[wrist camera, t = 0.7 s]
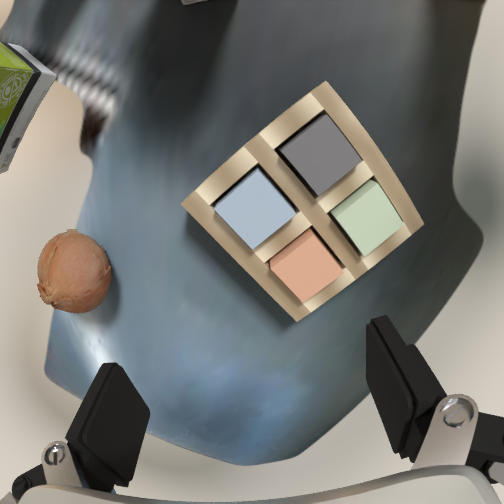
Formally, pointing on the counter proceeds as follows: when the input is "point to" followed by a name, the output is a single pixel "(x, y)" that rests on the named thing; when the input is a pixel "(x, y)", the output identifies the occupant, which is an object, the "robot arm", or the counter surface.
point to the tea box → (19, 96)
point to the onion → (73, 272)
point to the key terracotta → (305, 265)
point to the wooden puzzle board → (303, 200)
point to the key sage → (367, 216)
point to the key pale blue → (254, 208)
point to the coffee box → (190, 1)
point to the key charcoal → (320, 154)
